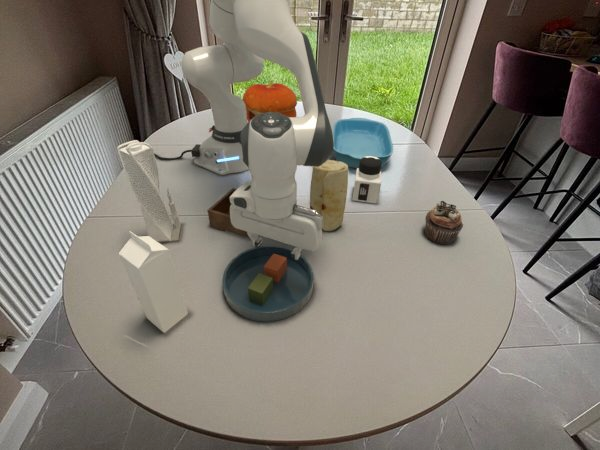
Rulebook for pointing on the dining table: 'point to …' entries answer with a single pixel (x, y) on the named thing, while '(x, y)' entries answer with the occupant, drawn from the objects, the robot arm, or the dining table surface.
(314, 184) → the food model
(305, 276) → the bowl
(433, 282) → the dining table surface
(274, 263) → the orange block
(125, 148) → the skyscraper
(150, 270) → the milk
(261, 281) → the green cube
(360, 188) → the container
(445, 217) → the cupcake
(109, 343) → the dining table surface
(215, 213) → the holder
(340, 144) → the casserole dish
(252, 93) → the pumpkin
